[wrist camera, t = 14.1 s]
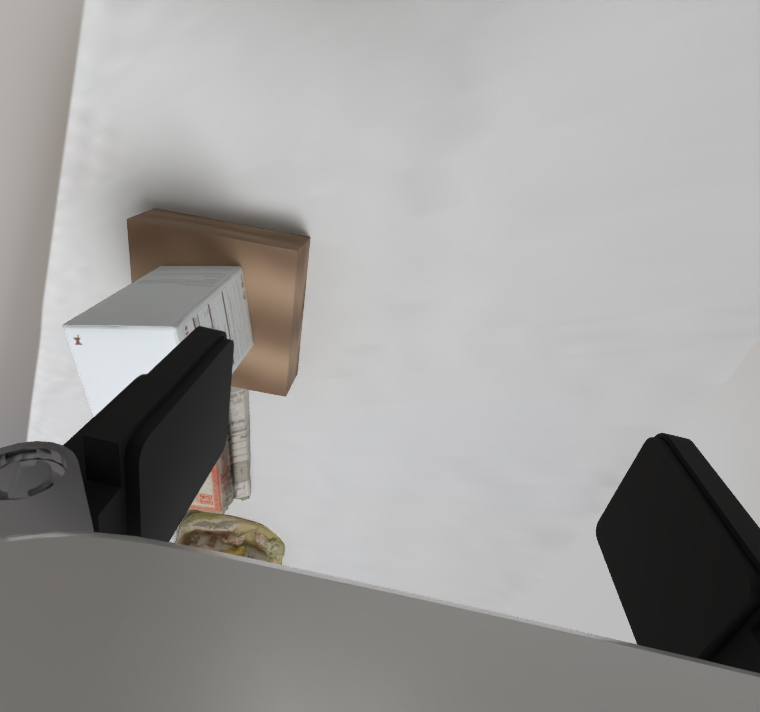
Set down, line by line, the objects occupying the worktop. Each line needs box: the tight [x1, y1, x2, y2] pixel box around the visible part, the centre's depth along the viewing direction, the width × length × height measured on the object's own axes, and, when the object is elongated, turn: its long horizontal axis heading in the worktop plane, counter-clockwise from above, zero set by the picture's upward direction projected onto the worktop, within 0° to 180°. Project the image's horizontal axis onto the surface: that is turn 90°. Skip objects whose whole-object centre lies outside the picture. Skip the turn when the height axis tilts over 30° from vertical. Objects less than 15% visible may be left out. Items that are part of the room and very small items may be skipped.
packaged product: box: [189, 386, 251, 514], centre depth 52 cm, size 18×5×10 cm
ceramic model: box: [175, 512, 285, 565], centre depth 58 cm, size 14×11×10 cm
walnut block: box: [127, 209, 310, 397], centre depth 45 cm, size 14×14×5 cm
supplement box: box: [63, 266, 254, 417], centre depth 36 cm, size 7×7×13 cm
